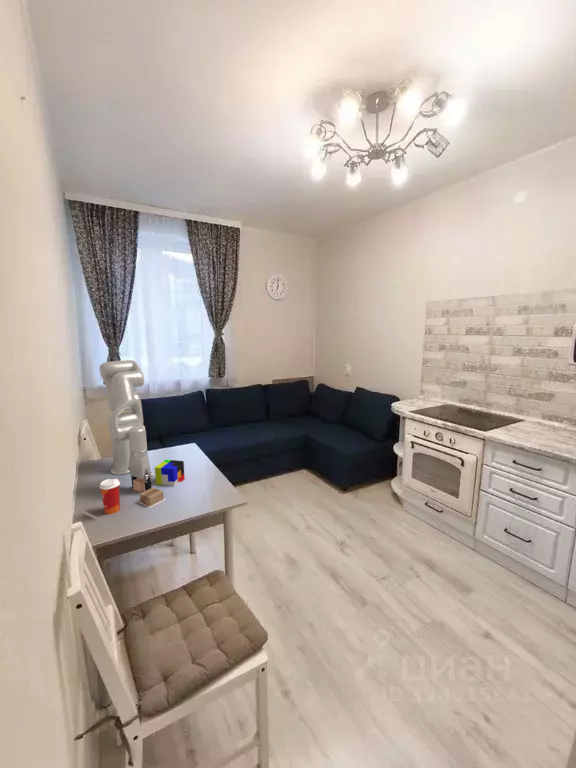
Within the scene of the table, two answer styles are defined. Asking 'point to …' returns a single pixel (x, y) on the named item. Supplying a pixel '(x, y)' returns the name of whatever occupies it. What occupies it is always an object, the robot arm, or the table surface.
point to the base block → (151, 496)
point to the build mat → (151, 506)
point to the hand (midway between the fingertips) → (141, 486)
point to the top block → (139, 484)
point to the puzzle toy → (169, 472)
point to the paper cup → (110, 495)
